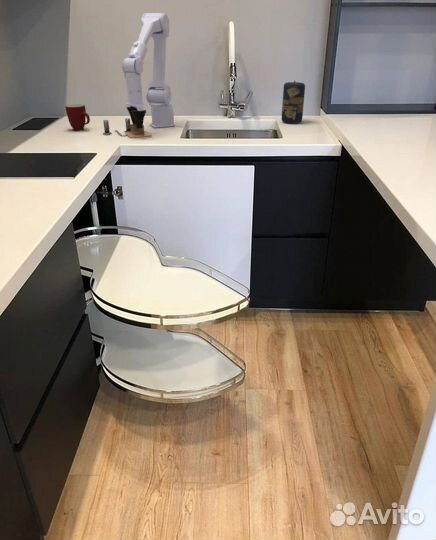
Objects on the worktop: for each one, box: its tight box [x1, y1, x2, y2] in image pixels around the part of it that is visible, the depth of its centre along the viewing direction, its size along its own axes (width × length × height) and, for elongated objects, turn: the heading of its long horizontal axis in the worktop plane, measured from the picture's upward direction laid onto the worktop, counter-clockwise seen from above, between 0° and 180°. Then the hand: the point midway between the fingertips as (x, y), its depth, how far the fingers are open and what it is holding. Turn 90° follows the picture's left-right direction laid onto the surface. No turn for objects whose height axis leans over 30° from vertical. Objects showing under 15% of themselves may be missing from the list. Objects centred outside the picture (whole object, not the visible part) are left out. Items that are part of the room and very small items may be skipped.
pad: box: [124, 130, 152, 139], centre depth 189 cm, size 9×9×1 cm
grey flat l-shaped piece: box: [114, 129, 128, 137], centre depth 191 cm, size 4×12×1 cm, turn 22°
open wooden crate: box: [130, 123, 145, 135], centre depth 188 cm, size 4×4×4 cm
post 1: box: [102, 119, 113, 136], centre depth 189 cm, size 4×4×6 cm
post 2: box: [124, 117, 131, 132], centre depth 192 cm, size 4×4×6 cm
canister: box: [281, 80, 306, 124], centre depth 207 cm, size 10×10×18 cm
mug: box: [64, 103, 91, 132], centre depth 195 cm, size 10×8×10 cm
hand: (137, 126), depth 187 cm, fingers open, 7 cm apart
